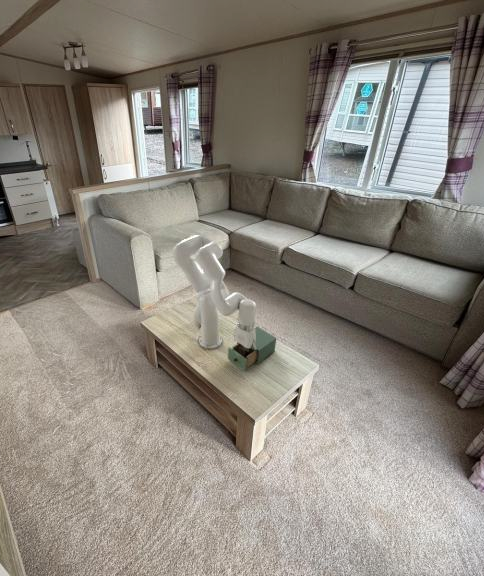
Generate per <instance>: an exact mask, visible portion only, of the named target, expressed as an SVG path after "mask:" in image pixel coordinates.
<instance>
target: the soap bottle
mask: <svg viewBox="0 0 484 576" xmlns="http://www.w3.org/2000/svg"><path fill="white" fill-rule="evenodd" d="M209 290H210V287H209V288H208V289H206V290H204V291H202V292H197V294H196V296H195V297H196V298H195V299H196V301H197V304H196V306H195V308H194V310H193V314H192V317H193V320H194V323H196V324H197V325H199V326H201V310H200V306H199V299H200V297H201V296H202V295H203V294H205V293H206V292H208V291H209ZM217 312H218V313H219V310H218V309H217Z"/></svg>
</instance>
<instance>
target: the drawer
mask: <svg viewBox="0 0 484 576" xmlns="http://www.w3.org/2000/svg"><path fill="white" fill-rule="evenodd" d="M257 355H258V351H257V350H251V351H250V354H249V355H248V356H247V357H244V356H242V355H241V354H240V353H238V344H237V343H236V344H234V345H233V346H232V347H231V346H229V347H228V348H227V359H228V360H229V361H230V362H232V363H233V364H234V365H236V366H237V367H238V368H239V369H241V370H243V371H244V372H245V371H247V368H248V367H250V366H251V365H253V364H254V363H256V362H255V361H256V360H257Z"/></svg>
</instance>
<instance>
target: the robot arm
mask: <svg viewBox="0 0 484 576" xmlns="http://www.w3.org/2000/svg"><path fill="white" fill-rule="evenodd" d="M223 254H224V249H223V247H222V246H221V244H219V242H216V241H214V240H213V239H210V238H208V237H205V236H203V235H201V234H200V235H198V234H197V235H193V236H190V237H188V238H186V239H184V240H181V241H180V242H178V243H176V244H175V245H174V247H173V249H172V256H173V260H174V262H175V263H176V265H177V266H178V268H179V269H181V271H182V272H183V273H184V276H185V277H186V279H187V281H188V282H189V284H190V287H192V289H193V291H194V292H196V293H199V292H202V291H204V290H206V289H208V288H209V289H210V290H209V291H208V292H206V293H205V294H203V295H202V296H201V297H200V299H199V306H200V310H201V325H200V326H201V327H200V328H199V330H198V331H197V332H198V333H199V334H200V336H199V338H198V342H199V345H200V346H201V347H202V348H205V349H208V350H212V349H213V350H214V349H217V348H219V347H220V346H221V345H222V343H223V339H222V336H221V335H220V315H222V316H224V317H229V316H231V315H233V314H234V313H235V312H237V311H238V317H237V318H236V319H237V323H236V325H235V329H234V334H233V337H234V340H235V342H237V343H236V344H238V350H239V346H241V345H243V346H244V347H246V351H245V357H247V356H248V355H249V354H250V351H251V350H256V349H257V348H256V346H255V340H256V333H255V328H256V327H255V323H256V312H257V304H256V302H255V301H254V300H252V299H248V298H247V297H246V296H245V295H243V294H242V293H240V292H236V291H235V292H233V293H232V294H230V291H229V290H228V287H227V286H226V284H225V282H224V279H225V276H226V270H225V269H224V267H223V266H222V264H221V262H220V261H219V260H218V259H220V258H222V257H223V256H224V255H223ZM191 256H194V257H195V259H192V258H191ZM217 309H218V312H217Z"/></svg>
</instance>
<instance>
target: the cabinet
mask: <svg viewBox="0 0 484 576" xmlns="http://www.w3.org/2000/svg"><path fill="white" fill-rule="evenodd" d="M254 328H255V333H256V340H255V346H256V348H257V349H256V350H257V351H258V355H257V360H256V361H255V362H254V363H255V364H257V365H259V364H260V363H261V362H262V361H264V360H265V359H267V357H269V356H270V355H272V354H273V353H275V351H276V344H277V337H275V336H274V335H272V334H270V333H269V332H267V331H265V330H264V329H263V328H261V327H259V326H256V327H254Z"/></svg>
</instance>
